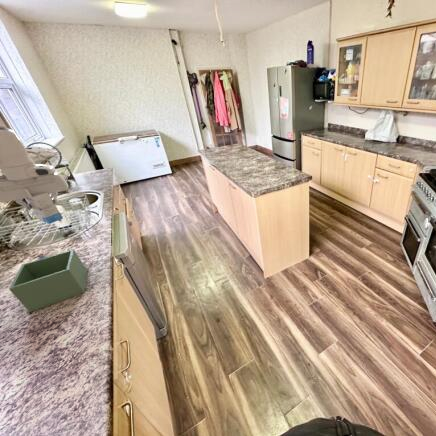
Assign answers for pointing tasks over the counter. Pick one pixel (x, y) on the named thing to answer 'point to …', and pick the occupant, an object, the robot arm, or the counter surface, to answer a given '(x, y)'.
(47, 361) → the counter surface
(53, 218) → the ink box
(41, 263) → the waste bin
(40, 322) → the counter surface
